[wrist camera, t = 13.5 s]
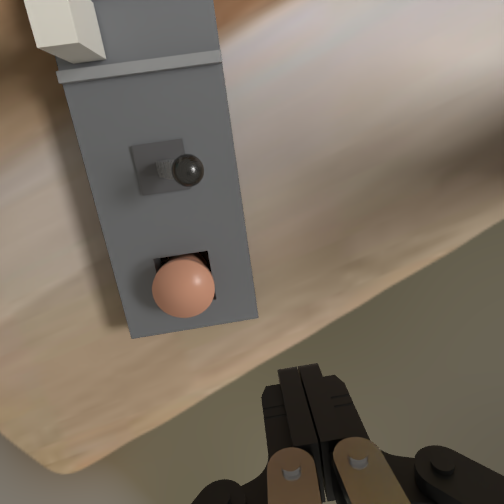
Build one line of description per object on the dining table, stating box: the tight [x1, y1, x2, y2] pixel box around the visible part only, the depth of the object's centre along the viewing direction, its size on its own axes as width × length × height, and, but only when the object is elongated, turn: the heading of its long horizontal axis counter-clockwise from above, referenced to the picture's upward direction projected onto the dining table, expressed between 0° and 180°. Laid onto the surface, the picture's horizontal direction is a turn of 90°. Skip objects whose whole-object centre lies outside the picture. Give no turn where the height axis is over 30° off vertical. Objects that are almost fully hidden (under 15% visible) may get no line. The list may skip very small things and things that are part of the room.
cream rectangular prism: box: [24, 0, 106, 64], centre depth 24 cm, size 2×4×6 cm, turn 8°
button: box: [152, 252, 215, 318], centre depth 34 cm, size 5×5×5 cm
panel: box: [55, 0, 258, 339], centre depth 32 cm, size 12×30×4 cm, turn 8°
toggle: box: [155, 154, 204, 187], centre depth 27 cm, size 2×2×6 cm
